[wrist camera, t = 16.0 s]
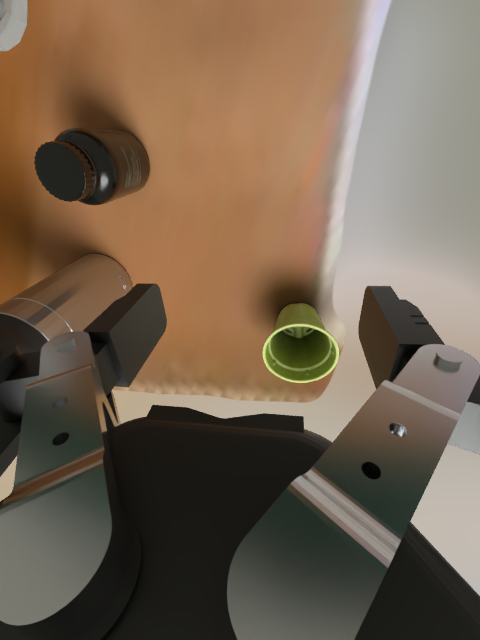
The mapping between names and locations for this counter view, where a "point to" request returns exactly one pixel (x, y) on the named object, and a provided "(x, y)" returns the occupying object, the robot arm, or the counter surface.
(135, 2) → the counter surface
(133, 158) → the supplement bottle
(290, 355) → the plant pot
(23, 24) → the french press
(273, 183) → the counter surface
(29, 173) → the counter surface
